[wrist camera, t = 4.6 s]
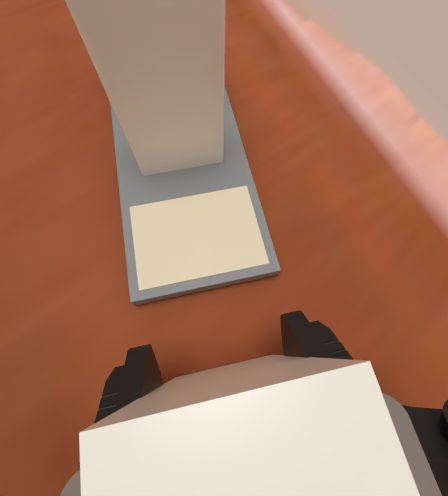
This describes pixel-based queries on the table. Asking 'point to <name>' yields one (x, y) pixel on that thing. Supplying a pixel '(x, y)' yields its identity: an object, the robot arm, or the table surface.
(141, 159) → the domino
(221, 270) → the board
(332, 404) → the domino
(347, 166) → the table surface
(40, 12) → the table surface
